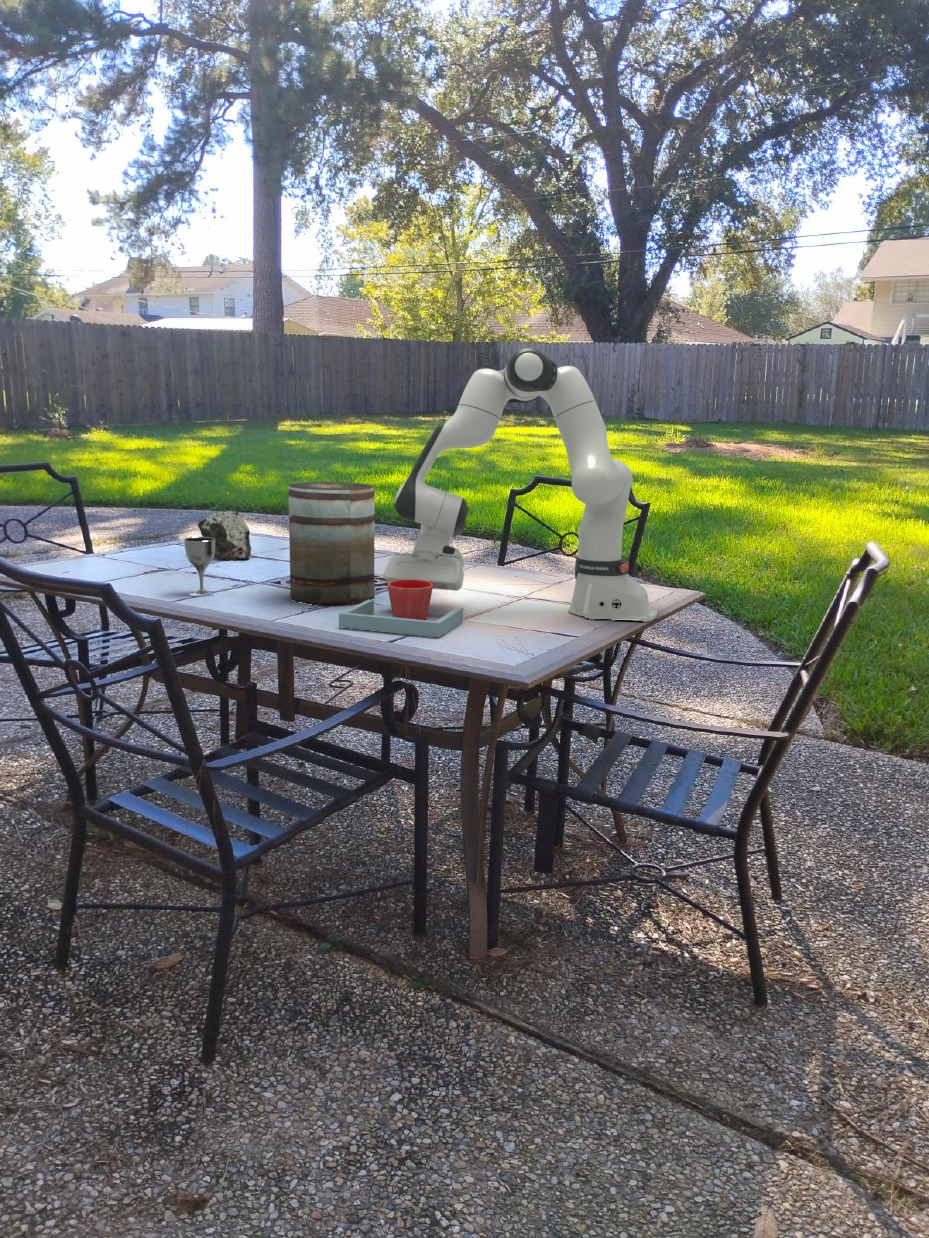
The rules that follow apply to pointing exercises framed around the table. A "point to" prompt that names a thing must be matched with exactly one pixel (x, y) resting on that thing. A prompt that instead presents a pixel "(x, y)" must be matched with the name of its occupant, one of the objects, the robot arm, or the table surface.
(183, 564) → the table surface
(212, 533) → the stone
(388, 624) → the tray frame
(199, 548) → the silver goblet
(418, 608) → the flower pot
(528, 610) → the table surface
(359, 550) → the barrel
